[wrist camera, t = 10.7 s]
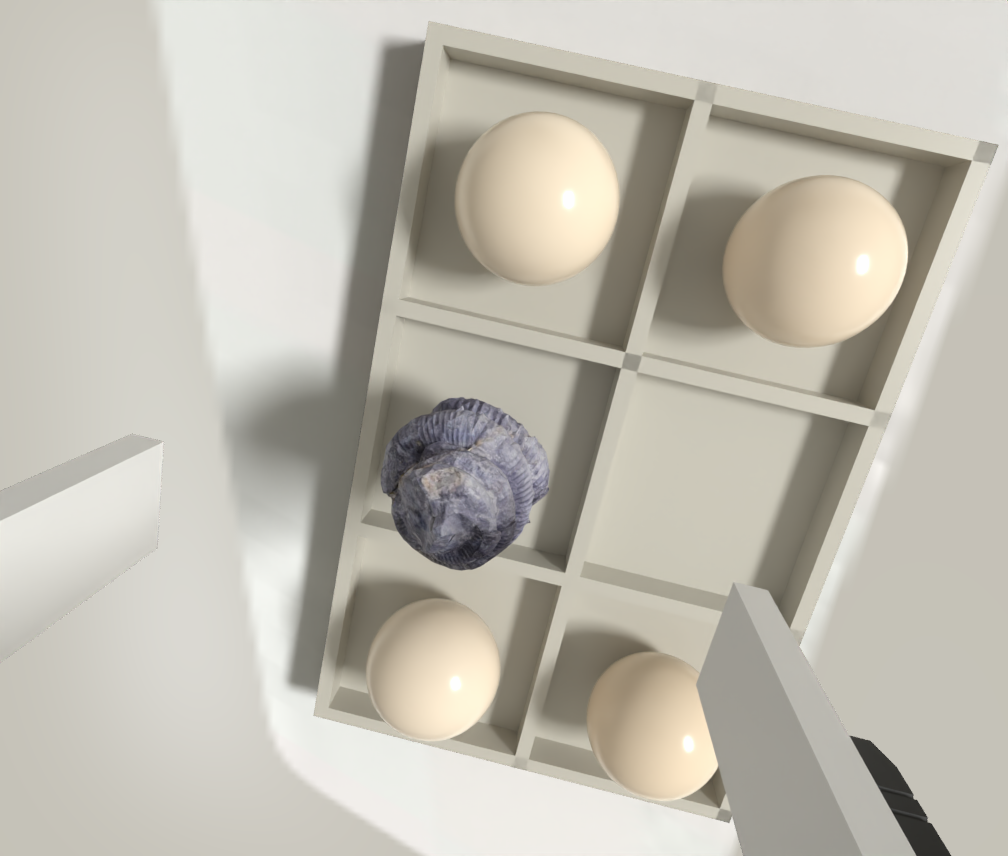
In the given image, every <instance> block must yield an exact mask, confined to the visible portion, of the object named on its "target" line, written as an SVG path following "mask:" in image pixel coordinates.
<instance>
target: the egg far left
mask: <svg viewBox="0 0 1008 856" xmlns="http://www.w3.org/2000/svg"><path fill="white" fill-rule="evenodd" d="M500 664H501V663H500V655H499V650H498V646H497V643H496V641H495V638H494V636H493V634H492V632H491V630H490V628H489V627H488V625H487V624H486V623H485V622H484V620H483V619H482V618H481V617H480V616H479V615H478V614H477V613H475V612H474V611H473V610H472V609H470V608H468V607H467V606H465V605H463V604H461V603H458V602H455V601H452V600H448V599H441V598H431V599H424V600H419V601H416V602H413V603H410V604H408V605H406V606H404V607H402V608H401V609H399V610H398V611H396V612H395V613H394V614H392V615H391V616H390V617H389V618H388V619H387V620H386V621H385V622H384V623H383V625H382V626H381V627H380V629H379V630H378V632H377V634H376V635H375V637H374V639H373V641H372V643H371V646H370V649H369V652H368V656H367V662H366V684H367V689H368V693H369V696H370V699H371V702H372V704H373V706H374V708H375V709H376V711H377V712H378V714H379V715H380V717H381V718H382V719H383V720H384V721H385V722H386V723H387V724H388V725H389V726H390V727H391V728H393V729H394V730H395V731H397V732H399V733H400V734H402V735H404V736H406V737H409V738H412V739H415V740H420V741H441V740H446V739H450V738H452V737H455V736H457V735H460V734H462V733H463V732H465V731H467V730H468V729H469V728H471V727H472V726H473V725H475V724H476V723H477V722H478V721H479V720H480V719H481V718H482V716H483V715H484V714H485V713H486V711H487V710H488V708H489V707H490V705H491V703H492V701H493V699H494V697H495V694H496V691H497V688H498V685H499V679H500Z"/></svg>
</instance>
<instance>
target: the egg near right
mask: <svg viewBox="0 0 1008 856" xmlns="http://www.w3.org/2000/svg"><path fill="white" fill-rule="evenodd" d="M907 263H908V242H907V236H906V232H905V228H904V226H903V223H902V221H901V218H900V217H899V215H898V213H897V211H896V210H895V208H894V207H893V206H892V205H891V203H890V202H889V201H888V200H887V199H886V198H885V197H883V196H882V195H881V194H880V193H879V192H878V191H876V190H875V189H873V188H872V187H870V186H869V185H866V184H864V183H862V182H860V181H857V180H854V179H851V178H847V177H842V176H836V175H816V176H808V177H803V178H799V179H795V180H792V181H789V182H787V183H784V184H782V185H780V186H778V187H776V188H774V189H772V190H771V191H769V192H767V193H766V194H765V195H763V196H762V197H760V198H759V199H758V200H757V201H756V202H754V203H753V204H752V205H751V206H750V207H749V208H748V209H747V210H746V212H745V213H744V214H743V215H742V216H741V218H740V219H739V221H738V222H737V224H736V225H735V227H734V229H733V231H732V233H731V235H730V237H729V240H728V242H727V245H726V248H725V252H724V257H723V265H722V276H723V284H724V289H725V292H726V295H727V299H728V301H729V303H730V305H731V307H732V309H733V311H734V312H735V314H736V315H737V317H738V318H739V319H740V320H741V321H742V322H743V323H744V324H745V325H746V326H747V327H748V328H749V329H750V330H752V331H753V332H754V333H756V334H757V335H759V336H761V337H762V338H764V339H766V340H768V341H771V342H773V343H776V344H780V345H783V346H789V347H795V348H815V347H823V346H827V345H832V344H836V343H839V342H841V341H844V340H847V339H849V338H851V337H853V336H855V335H857V334H858V333H860V332H861V331H863V330H864V329H866V328H868V327H869V326H870V325H871V324H873V323H874V322H875V321H876V320H877V319H878V318H879V317H880V316H881V315H882V314H883V313H884V312H885V311H886V310H887V308H888V307H889V306H890V305H891V303H892V302H893V300H894V299H895V297H896V295H897V294H898V292H899V289H900V287H901V285H902V283H903V280H904V276H905V273H906V268H907Z"/></svg>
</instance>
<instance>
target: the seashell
mask: <svg viewBox="0 0 1008 856" xmlns="http://www.w3.org/2000/svg"><path fill="white" fill-rule="evenodd" d="M549 473H550V470H549V464H548V459H547V454H546V451H545V450H544V448H543V447H542V445H541V444H540V443H539V442H538V439H537V438H536V437H535V436H534V437H531V436H530V435H529V434H528V431H527V430H526V429H525V428H524V426H523V424H521V423H517V421H516V420H515V419H513V418H512V417H511V416H510V415H509V414H506V413H504V412H503V411H502V409H501V408H497V407H494V406H492V405H490V404H488V403H486V402H483V401H480V400H478V399H473V398H470V399H465V398H464V397H459V398H448V399H446V400H444V401H441V402H440V403H439V404H438V405H437V406H436V407H435V408H433V411H432V412H431V413H430V414H426V415H421V416H419V417H417V418H414V419H412V420H411V421H410V422H409V423H408V424H406V425H405V426H403V427H402V428H400V429H399V430H398V431H397V433H396V434H395V435H394V437H393V438H392V439H391V440H390V442H389V443H388V444H387V445H386V451H385V456H384V461H383V468H382V470H381V487H382V490H383V493H385V494H387V495H388V497H391V499H392V504H391V514H392V517H393V520H394V523H395V527H396V529H397V531H398V532H399V534H400V535H401V537H402V538H403V540H404V541H406V542H407V543H408V544H409V545H410V546H411V547H412V548H413V549H414V550H416V551H417V552H419V553H420V554H421V555H423V556H424V557H426V558H427V559H429V560H430V561H432V562H434V563H436V564H439V565H442V566H444V567H447V568H449V569H454V570H460V571H463V570H469V569H470V570H473V569H476V568H478V567H481V566H482V565H484V564H485V563H487V562H488V561H490V560H491V559H493V558H494V557H495V556H497V555H498V554H499V553H501V552H502V551H503V550H505V549H506V548H507V547H508V546H509V545H511V544H512V543H513V542H514V541H515V540H516V539H517V538H518V536H519V535H520V534H521V533H522V532H523V529H524V526H525V525H526V524H527V523H530V520H529V514H530V511H531V508H532V506H533V505H534V504H536V503H537V502H538V501H539V500H541V499H542V498H543V497H544V496H546V495H547V493H548V491H549V488H548V483H549Z"/></svg>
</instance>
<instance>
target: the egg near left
mask: <svg viewBox="0 0 1008 856" xmlns="http://www.w3.org/2000/svg"><path fill="white" fill-rule="evenodd" d="M619 204H620V190H619V182H618V177H617V172H616V169H615V166H614V163H613V161H612V159H611V157H610V155H609V153H608V151H607V150H606V148H605V147H604V145H603V144H602V142H601V141H600V140H599V139H598V138H597V137H596V136H595V134H593V133H592V132H591V131H590V130H589V129H588V128H587V127H585V126H584V125H582V124H581V123H579V122H577V121H576V120H573V119H571V118H569V117H567V116H564V115H560V114H557V113H552V112H545V111H532V112H525V113H520V114H517V115H513V116H510V117H508V118H506V119H504V120H501V121H500V122H498V123H496V124H495V125H493V126H492V127H490V128H489V129H488V130H487V131H485V132H484V133H483V134H482V135H481V136H480V137H479V138H478V139H477V140H476V142H475V143H474V144H473V146H472V147H471V148H470V150H469V151H468V153H467V155H466V157H465V159H464V161H463V163H462V165H461V168H460V171H459V174H458V177H457V181H456V187H455V214H456V219H457V223H458V227H459V230H460V233H461V235H462V238H463V240H464V242H465V244H466V245H467V247H468V249H469V250H470V252H471V253H472V254H473V256H474V257H475V258H476V259H477V260H478V261H479V262H480V264H481V265H483V266H484V267H485V268H486V269H487V270H489V271H490V272H492V273H493V274H495V275H496V276H498V277H500V278H502V279H504V280H507V281H509V282H512V283H515V284H519V285H525V286H547V285H552V284H557V283H560V282H563V281H565V280H568V279H570V278H572V277H574V276H576V275H578V274H579V273H581V272H582V271H583V270H585V269H586V268H587V267H589V266H590V265H591V264H592V263H593V262H594V261H595V260H596V259H597V258H598V256H599V255H600V254H601V253H602V251H603V250H604V248H605V247H606V245H607V244H608V242H609V240H610V238H611V236H612V233H613V231H614V228H615V225H616V222H617V218H618V212H619Z"/></svg>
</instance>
